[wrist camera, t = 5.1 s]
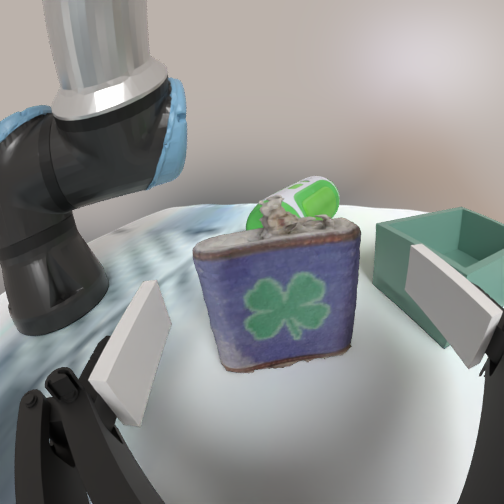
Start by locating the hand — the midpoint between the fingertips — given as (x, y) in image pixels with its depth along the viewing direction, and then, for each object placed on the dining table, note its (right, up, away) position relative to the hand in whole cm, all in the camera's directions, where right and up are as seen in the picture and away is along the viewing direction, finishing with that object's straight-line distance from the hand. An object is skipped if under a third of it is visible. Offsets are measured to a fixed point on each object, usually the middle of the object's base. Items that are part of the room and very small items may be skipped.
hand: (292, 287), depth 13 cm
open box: (+17, -2, +7) cm, 19 cm away
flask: (+1, -6, +5) cm, 8 cm away
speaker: (+5, +4, +24) cm, 25 cm away
